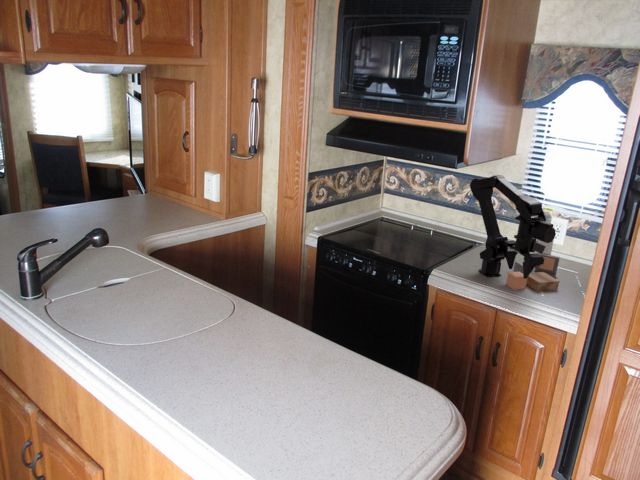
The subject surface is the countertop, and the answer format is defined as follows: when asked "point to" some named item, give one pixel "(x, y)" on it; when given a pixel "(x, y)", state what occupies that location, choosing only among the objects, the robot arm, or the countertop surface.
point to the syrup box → (548, 247)
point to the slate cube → (519, 266)
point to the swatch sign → (548, 265)
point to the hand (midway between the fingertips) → (517, 273)
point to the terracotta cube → (516, 280)
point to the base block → (542, 282)
